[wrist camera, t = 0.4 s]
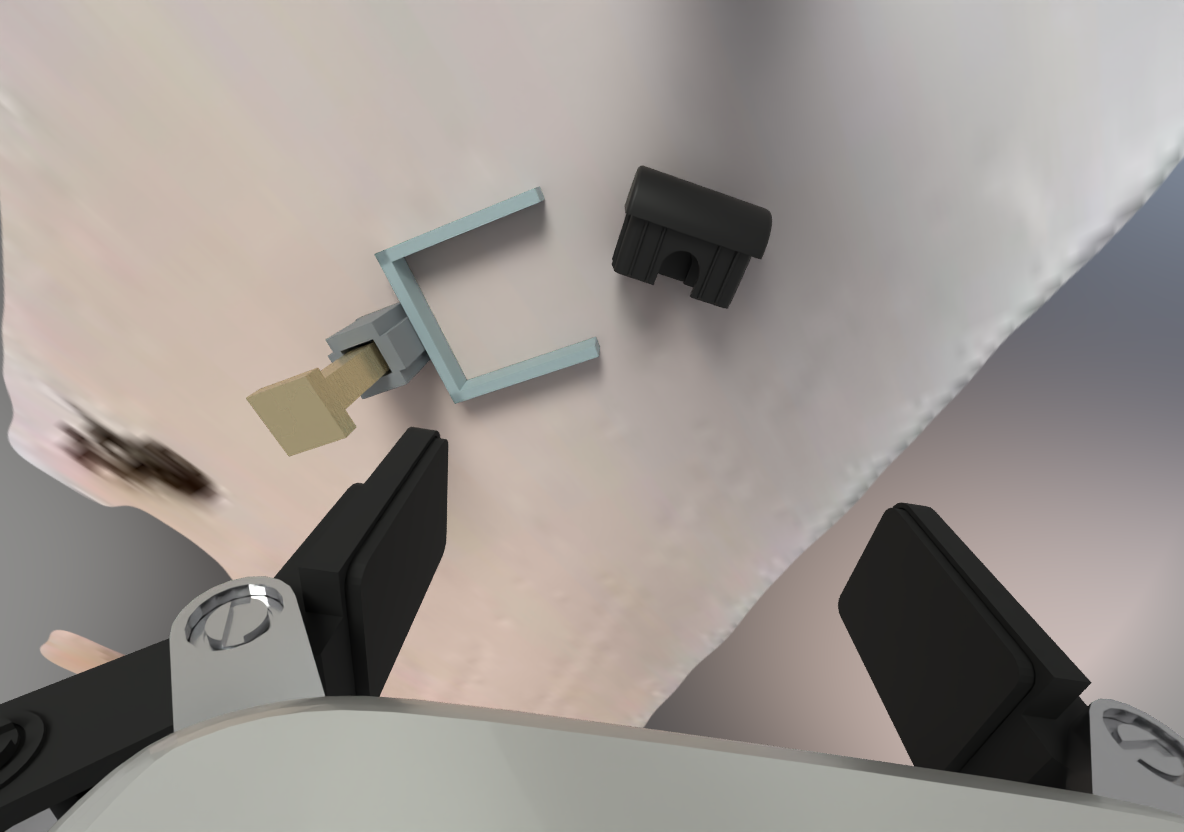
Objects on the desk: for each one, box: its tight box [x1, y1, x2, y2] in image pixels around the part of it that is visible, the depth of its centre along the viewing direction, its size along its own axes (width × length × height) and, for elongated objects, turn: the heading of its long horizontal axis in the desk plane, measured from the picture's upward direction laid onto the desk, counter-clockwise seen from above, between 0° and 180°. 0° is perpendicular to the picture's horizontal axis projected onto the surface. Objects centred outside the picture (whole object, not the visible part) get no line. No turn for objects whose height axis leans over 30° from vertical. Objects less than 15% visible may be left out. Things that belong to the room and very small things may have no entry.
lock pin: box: [246, 341, 390, 456], centre depth 35 cm, size 4×4×10 cm
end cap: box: [612, 166, 772, 309], centre depth 37 cm, size 10×7×7 cm
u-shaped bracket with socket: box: [326, 187, 600, 404], centre depth 41 cm, size 14×20×7 cm
